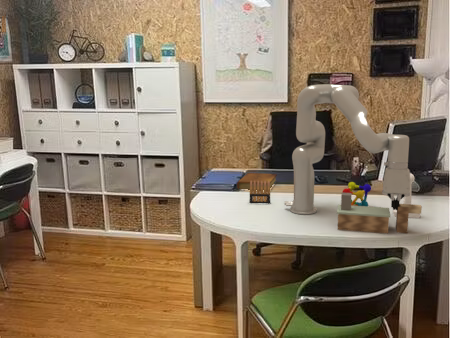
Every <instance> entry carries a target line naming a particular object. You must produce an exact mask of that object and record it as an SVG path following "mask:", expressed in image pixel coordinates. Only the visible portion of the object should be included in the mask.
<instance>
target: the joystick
mask: <svg viewBox="0 0 450 338" xmlns="http://www.w3.org/2000/svg"><path fill="white" fill-rule="evenodd" d="M414 181H415V176H414V174H412V173H411V172H410V196H406V197H403V203H402V204H412V183H414ZM392 214H393V217H395V218H396V217H397V210H393V209H392ZM408 215H409V216H408V219H417V218H421V214H416V213H409V214H408Z"/></svg>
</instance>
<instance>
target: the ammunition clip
mask: <svg viewBox="0 0 450 338" xmlns="http://www.w3.org/2000/svg"><path fill="white" fill-rule="evenodd" d="M249 203H270V204H271V191H270V182H269V181H268V184H267V188H266V181H265V182H264V192H263V182H262V181H261V186H259V181H258V182H257V191H256V182H255V181H254V186H253V187H252V181H251V182H250V191H249Z"/></svg>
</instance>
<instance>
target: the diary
mask: <svg viewBox="0 0 450 338" xmlns="http://www.w3.org/2000/svg"><path fill="white" fill-rule="evenodd" d="M277 176H278V174H277V173H261V172H260V173H258V172H247V173H246V174H245V175H244V176H243V177H241V178H240V179H239V180H238V181H237V182H236V189H237V188H238V189H239V188H240V189H248V190H250V182H251V181H252V187H253V186H254V181H255V182H256V190H257V182H258V181H259V186H261V181H262V182H263V190H264V182H265V181H266V188H267V184H268V181H269V182H270V188H271V187H272V185H273V184H274V182H275V181H276V182H277V180H276V179H277Z"/></svg>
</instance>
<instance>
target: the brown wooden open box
mask: <svg viewBox="0 0 450 338" xmlns="http://www.w3.org/2000/svg"><path fill="white" fill-rule="evenodd" d="M400 204H401V203H399V207H398V208H397V217H395V218H396V219H395V220H396V222H395V230H396V233H398V234H399V233H400V234H408V228H409V227H408V226H409V218H408V216H409V215H408V214H409V207H400ZM389 222H390V217H376V216H361V215H346V214H337V230H339V231H341V230H342V231H350V232H351V231H352V232H353V231H354V232H365V233H376V234H377V233H379V234H389V224H390V223H389Z"/></svg>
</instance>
